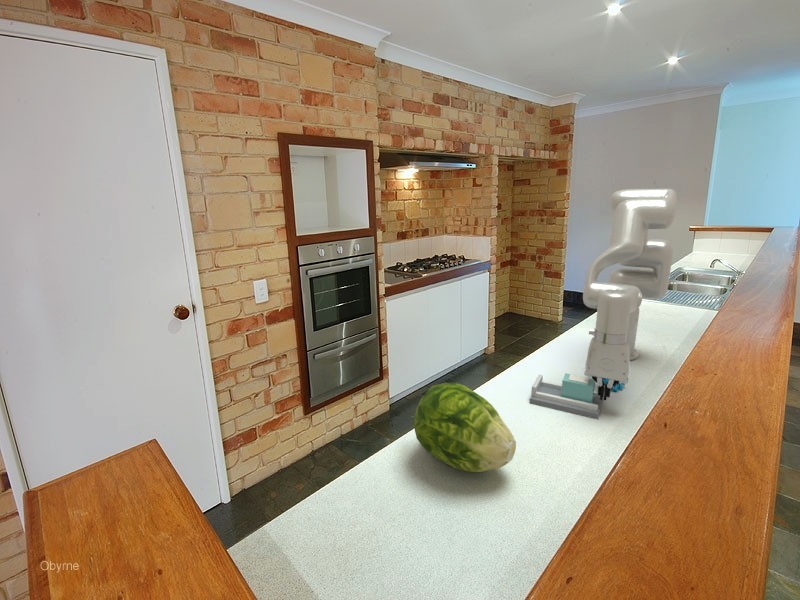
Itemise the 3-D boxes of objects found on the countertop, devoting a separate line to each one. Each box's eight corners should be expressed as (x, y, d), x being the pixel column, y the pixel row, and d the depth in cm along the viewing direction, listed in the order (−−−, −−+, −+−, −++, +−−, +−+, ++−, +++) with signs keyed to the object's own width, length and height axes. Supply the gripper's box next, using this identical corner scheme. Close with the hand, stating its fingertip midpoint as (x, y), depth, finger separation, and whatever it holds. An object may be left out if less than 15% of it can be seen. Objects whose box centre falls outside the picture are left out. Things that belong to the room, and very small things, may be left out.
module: (563, 391, 119) (565, 372, 117) (593, 397, 115) (595, 377, 113) (560, 399, 114) (562, 379, 113) (591, 406, 110) (593, 385, 109)
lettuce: (492, 509, 79) (495, 427, 74) (400, 463, 93) (396, 392, 88) (527, 460, 92) (532, 388, 87) (442, 426, 106) (441, 362, 101)
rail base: (539, 385, 126) (539, 372, 125) (602, 398, 117) (604, 384, 116) (529, 403, 116) (530, 389, 115) (598, 419, 107) (599, 404, 106)
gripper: (578, 336, 106) (572, 398, 111) (643, 345, 99) (634, 411, 104) (581, 327, 112) (576, 386, 117) (643, 336, 105) (634, 398, 110)
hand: (603, 398), depth 111 cm, fingers closed
